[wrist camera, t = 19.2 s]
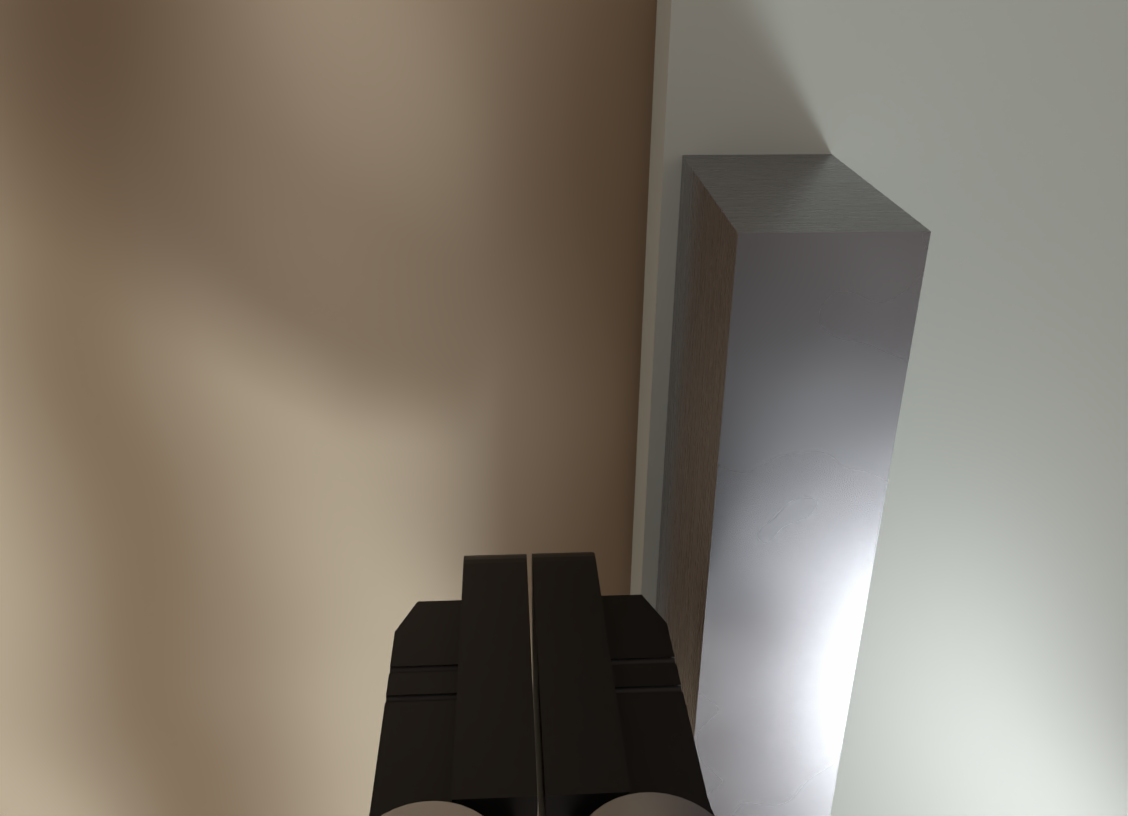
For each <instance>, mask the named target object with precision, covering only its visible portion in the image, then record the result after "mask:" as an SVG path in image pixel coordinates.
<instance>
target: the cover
mask: <svg viewBox="0 0 1128 816" xmlns="http://www.w3.org/2000/svg"><path fill="white" fill-rule="evenodd" d="M630 595H643V597H644V598H645V599H646V600H647V601H648V602H649V603H650V605H651V606H652V607H653V608H654V609H655V610H656V611H657V612H658V614H659V615H660V616H661V617H662V618H663V619H664V620H665V622H666V623H667V626H668V630H669V635H670V639H671V643H672V647H673V652H674V656H675V664H676V665H677V669H678V673H679V677H680V682H681V691H682V692H683V694H684V699H685V703H686V707H687V711H688V716H689V720H690V724H691V729H692V733H693V737H694V741H695V746H696V750H697V754H698V758H699V763H700V767H701V771H702V776H703V780H704V784H705V788H706V793H707V797H708V800H709V803H710V806H711V809H712V811H713V813H714V815H715V816H1128V0H657V14H656V36H655V58H654V80H653V102H652V124H651V146H650V168H649V190H648V212H647V234H646V256H645V278H644V300H643V322H642V344H641V366H640V388H639V410H638V432H637V454H636V476H635V498H634V520H633V542H632V564H631V586H630Z"/></svg>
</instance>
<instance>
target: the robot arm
mask: <svg viewBox="0 0 1128 816" xmlns="http://www.w3.org/2000/svg"><path fill="white" fill-rule="evenodd" d="M532 676H533V683H532ZM369 816H715V815H714V813H713V811H712V809H711V806H710V803H709V800H708V797H707V793H706V788H705V784H704V780H703V776H702V771H701V767H700V763H699V758H698V754H697V750H696V746H695V741H694V737H693V733H692V729H691V724H690V720H689V716H688V711H687V707H686V703H685V699H684V694H683V692H682V691H681V682H680V677H679V673H678V669H677V665H676V664H675V656H674V652H673V647H672V643H671V639H670V635H669V630H668V626H667V623H666V622H665V620H664V619H663V618H662V617H661V616H660V615H659V614H658V612H657V611H656V610H655V609H654V608H653V607H652V606H651V605H650V603H649V602H648V601H647V600H646V599H645V598H644V597H643V595H608V596H601V591H600V584H599V577H598V571H597V564H596V558H595V553H594V552H571V553H534V554H532V661H531V639H530V617H529V595H528V573H527V555H526V554H506V555H469V556H464V560H463V580H462V600H448V601H418V602H417V603H416V604H415V606H414V607H413V608H412V610H411V611H410V612H409V613H408V615H407V616H406V617H405V619H404V620H403V621H402V623H401V624H400V625H399V627H398V628H397V629H396V631H395V633H394V641H393V648H392V655H391V662H390V673H389V677H388V684H387V691H386V703H385V706H384V713H383V720H382V727H381V734H380V742H379V749H378V756H377V763H376V771H375V778H374V785H373V792H372V800H371V807H370V813H369Z"/></svg>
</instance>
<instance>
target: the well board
mask: <svg viewBox="0 0 1128 816" xmlns="http://www.w3.org/2000/svg"><path fill="white" fill-rule="evenodd" d="M656 14H657V0H0V816H369V813H370V807H371V800H372V792H373V785H374V778H375V771H376V763H377V756H378V749H379V742H380V734H381V727H382V720H383V713H384V706H385V703H386V691H387V684H388V677H389V673H390V662H391V655H392V648H393V641H394V633H395V631H396V629H397V628H398V627H399V625H400V624H401V623H402V621H403V620H404V619H405V617H406V616H407V615H408V613H409V612H410V611H411V610H412V608H413V607H414V606H415V604H416V603H417V602H418V601H448V600H462V580H463V560H464V556H469V555H506V554H526V555H527V573H528V595H529V617H530V639H531V661H532V554H534V553H571V552H594V553H595V558H596V564H597V571H598V577H599V584H600V591H601V596H608V595H630V586H631V564H632V542H633V520H634V498H635V476H636V454H637V432H638V410H639V388H640V366H641V344H642V322H643V300H644V278H645V256H646V234H647V212H648V190H649V168H650V146H651V124H652V102H653V80H654V58H655V36H656ZM532 683H533V676H532Z"/></svg>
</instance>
